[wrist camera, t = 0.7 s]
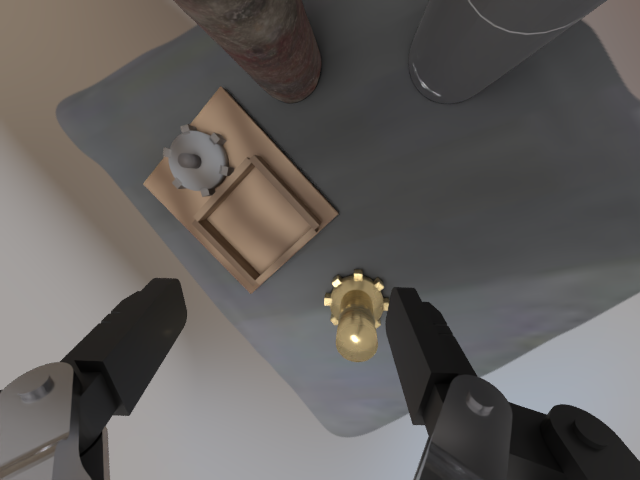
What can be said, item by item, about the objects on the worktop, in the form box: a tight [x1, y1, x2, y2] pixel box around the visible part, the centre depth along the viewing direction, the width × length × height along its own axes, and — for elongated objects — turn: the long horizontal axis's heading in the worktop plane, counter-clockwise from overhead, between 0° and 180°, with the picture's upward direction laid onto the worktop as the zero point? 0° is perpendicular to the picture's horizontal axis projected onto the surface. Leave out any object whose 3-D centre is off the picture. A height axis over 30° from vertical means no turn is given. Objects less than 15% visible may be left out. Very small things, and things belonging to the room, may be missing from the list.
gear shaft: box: [324, 269, 389, 362], centre depth 30 cm, size 8×8×10 cm
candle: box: [174, 0, 321, 103], centre depth 20 cm, size 8×7×20 cm
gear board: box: [143, 86, 339, 294], centre depth 32 cm, size 16×20×5 cm
